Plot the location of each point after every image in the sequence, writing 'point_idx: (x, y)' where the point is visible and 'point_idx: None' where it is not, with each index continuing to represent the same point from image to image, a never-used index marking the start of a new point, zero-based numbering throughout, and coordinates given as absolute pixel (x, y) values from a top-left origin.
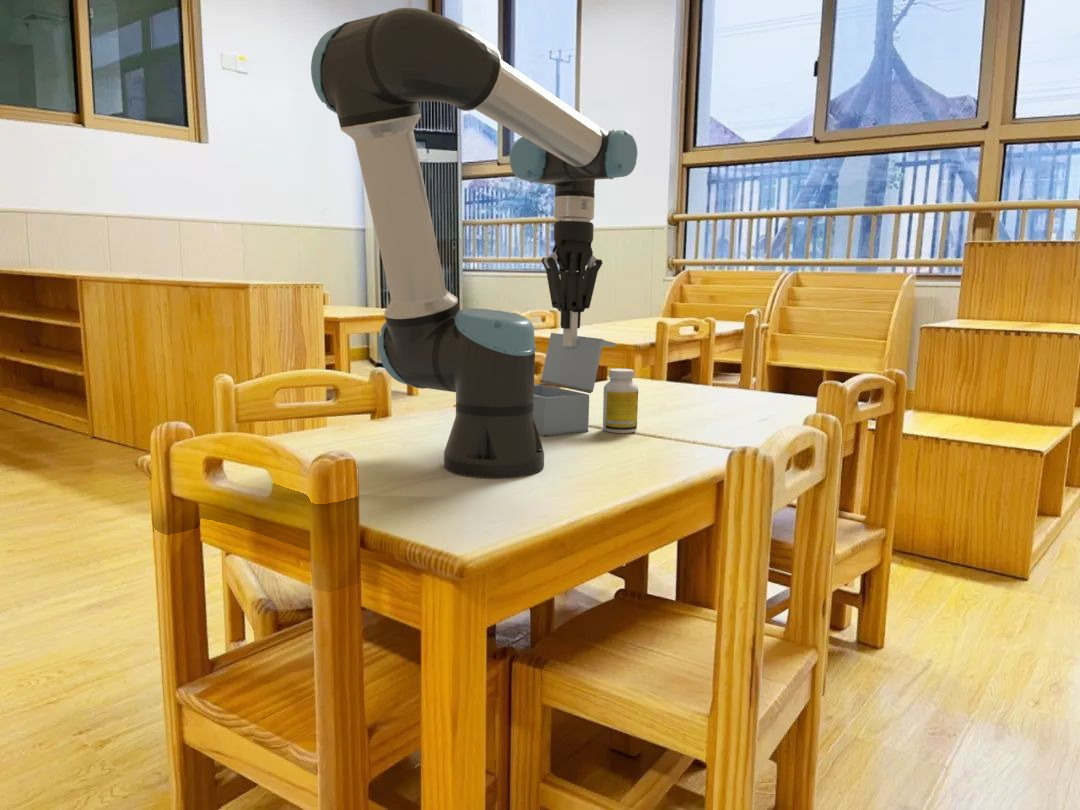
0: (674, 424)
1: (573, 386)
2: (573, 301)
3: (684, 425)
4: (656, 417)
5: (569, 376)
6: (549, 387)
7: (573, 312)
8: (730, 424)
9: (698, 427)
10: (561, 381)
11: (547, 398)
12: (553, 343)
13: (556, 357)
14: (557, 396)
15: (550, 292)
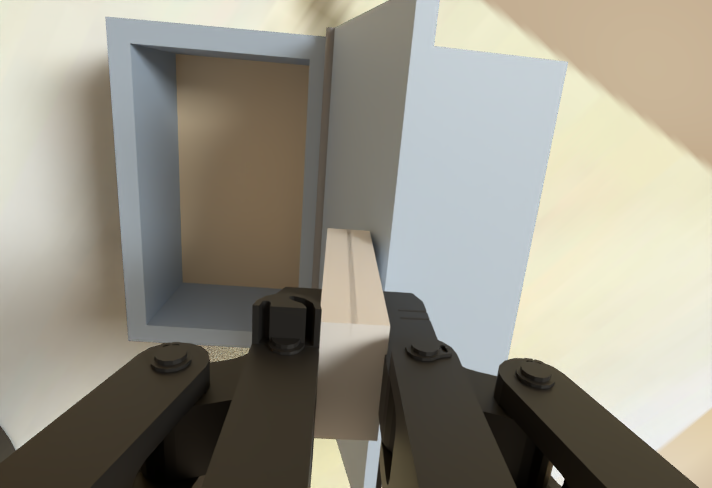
0: (594, 341)
1: (320, 269)
2: (394, 451)
3: (602, 363)
4: (653, 240)
5: None
6: (306, 133)
7: (327, 438)
8: (706, 410)
9: (605, 397)
10: (327, 189)
11: (140, 340)
12: (384, 62)
13: (357, 123)
14: (190, 331)
15: (1, 479)
